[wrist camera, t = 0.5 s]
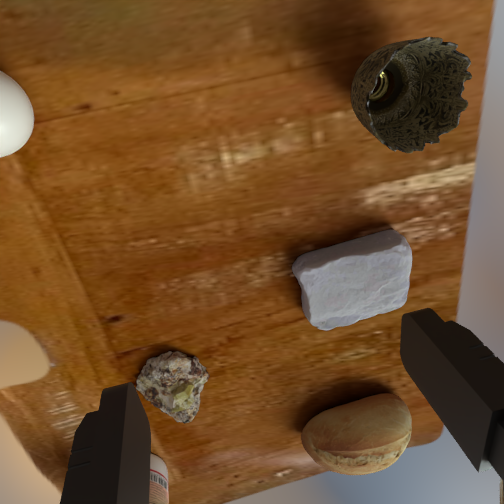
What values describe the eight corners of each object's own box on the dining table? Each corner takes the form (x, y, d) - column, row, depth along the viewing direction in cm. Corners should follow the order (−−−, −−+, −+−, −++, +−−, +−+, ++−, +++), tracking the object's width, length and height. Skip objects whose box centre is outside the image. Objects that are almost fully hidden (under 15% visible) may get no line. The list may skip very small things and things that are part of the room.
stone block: (392, 282, 48) (398, 218, 42) (411, 313, 45) (421, 249, 38) (296, 309, 48) (286, 248, 41) (308, 342, 45) (299, 282, 38)
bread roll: (291, 404, 53) (310, 461, 46) (399, 370, 54) (433, 421, 47) (301, 446, 58) (320, 503, 51) (400, 415, 59) (431, 467, 52)
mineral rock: (119, 373, 42) (194, 371, 41) (133, 342, 46) (202, 339, 45) (148, 434, 48) (214, 433, 47) (158, 402, 51) (219, 400, 50)
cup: (404, 125, 37) (460, 149, 30) (326, 132, 36) (365, 158, 29) (418, 31, 33) (485, 34, 26) (331, 35, 32) (378, 40, 25)
